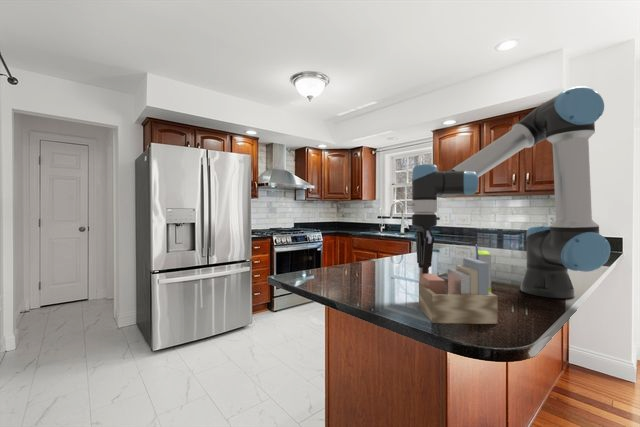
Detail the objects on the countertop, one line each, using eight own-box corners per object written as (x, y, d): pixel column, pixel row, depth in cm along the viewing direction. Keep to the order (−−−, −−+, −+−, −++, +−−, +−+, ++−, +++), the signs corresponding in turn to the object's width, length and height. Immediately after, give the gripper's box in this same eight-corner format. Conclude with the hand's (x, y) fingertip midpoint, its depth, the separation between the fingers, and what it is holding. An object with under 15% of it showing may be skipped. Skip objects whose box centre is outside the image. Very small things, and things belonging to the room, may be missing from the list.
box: (491, 304, 96) (491, 247, 96) (476, 303, 97) (476, 247, 97) (488, 296, 106) (488, 244, 106) (474, 294, 107) (474, 244, 107)
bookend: (455, 310, 90) (455, 268, 90) (469, 321, 81) (469, 274, 81) (448, 310, 90) (448, 268, 90) (461, 321, 81) (461, 274, 81)
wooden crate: (473, 307, 92) (473, 284, 92) (497, 323, 79) (497, 295, 79) (418, 307, 93) (418, 283, 93) (432, 323, 80) (432, 295, 80)
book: (433, 302, 98) (433, 273, 98) (444, 312, 88) (444, 280, 88) (419, 302, 98) (419, 273, 98) (429, 312, 88) (429, 280, 88)
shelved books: (471, 310, 90) (471, 258, 90) (488, 322, 80) (488, 263, 80) (456, 310, 90) (456, 257, 90) (471, 321, 81) (470, 263, 81)
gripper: (407, 213, 107) (407, 282, 107) (417, 213, 94) (417, 292, 94) (430, 213, 107) (429, 283, 107) (443, 213, 94) (442, 293, 94)
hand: (423, 287), depth 101 cm, fingers closed
